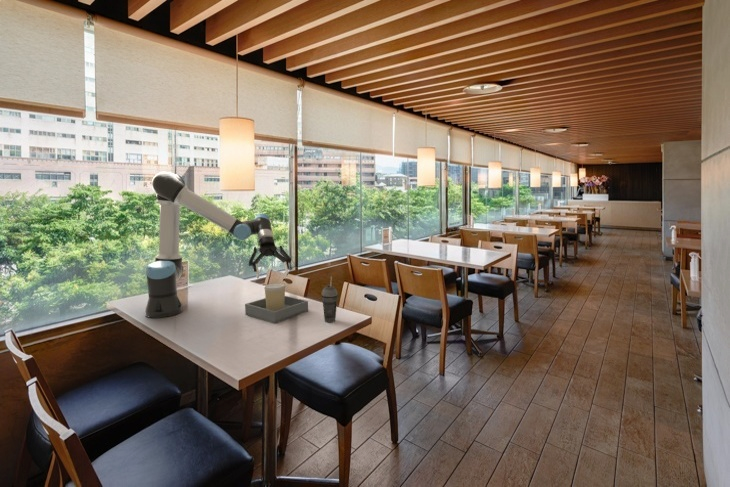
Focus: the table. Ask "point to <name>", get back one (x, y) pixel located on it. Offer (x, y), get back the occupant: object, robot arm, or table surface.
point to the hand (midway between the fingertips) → (273, 275)
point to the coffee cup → (275, 296)
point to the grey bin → (290, 310)
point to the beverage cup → (329, 302)
